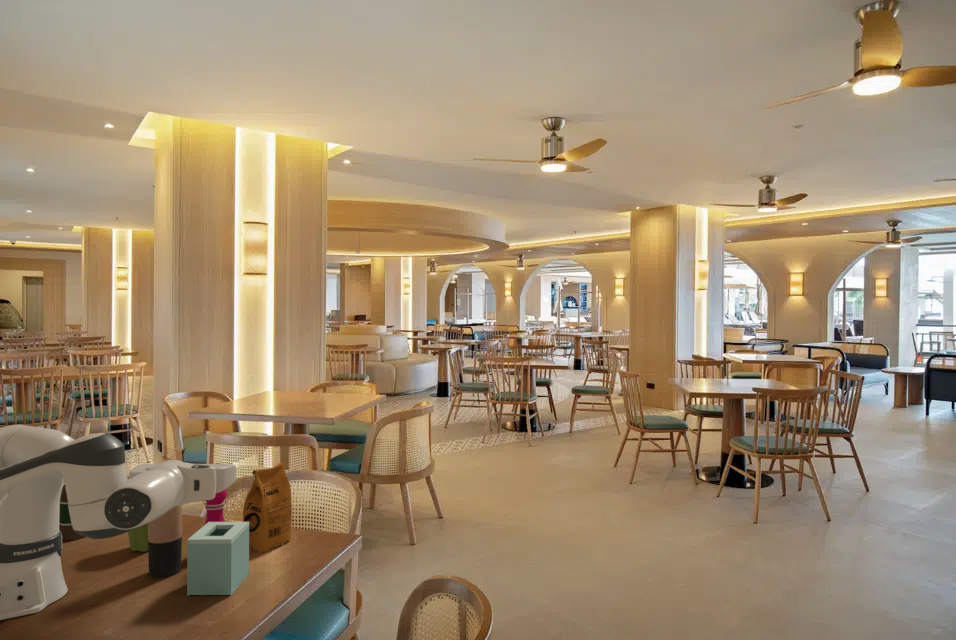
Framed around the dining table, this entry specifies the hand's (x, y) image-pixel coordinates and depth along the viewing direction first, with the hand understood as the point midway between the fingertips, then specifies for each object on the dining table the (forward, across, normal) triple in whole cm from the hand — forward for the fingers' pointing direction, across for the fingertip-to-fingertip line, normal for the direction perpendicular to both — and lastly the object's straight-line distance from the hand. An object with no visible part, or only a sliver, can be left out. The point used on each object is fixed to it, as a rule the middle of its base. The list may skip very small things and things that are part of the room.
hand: (198, 466), depth 134 cm
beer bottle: (+45, -54, -32) cm, 77 cm away
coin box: (+12, 0, -31) cm, 34 cm away
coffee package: (+38, +4, -32) cm, 49 cm away
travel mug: (+19, -16, -32) cm, 40 cm away
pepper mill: (+32, -9, -32) cm, 46 cm away
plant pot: (+36, -29, -32) cm, 56 cm away
